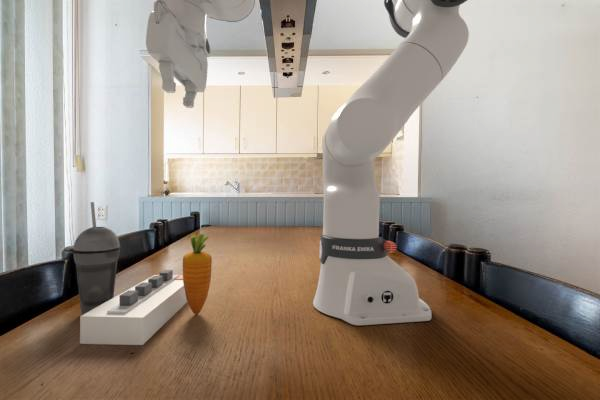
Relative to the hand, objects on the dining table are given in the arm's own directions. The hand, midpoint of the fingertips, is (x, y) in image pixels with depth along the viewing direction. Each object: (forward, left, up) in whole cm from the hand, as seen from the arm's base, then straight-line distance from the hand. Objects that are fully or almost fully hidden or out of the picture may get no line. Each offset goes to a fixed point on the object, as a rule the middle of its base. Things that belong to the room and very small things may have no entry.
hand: (179, 99), depth 58 cm
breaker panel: (+3, +5, -40) cm, 41 cm away
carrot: (-6, +5, -40) cm, 41 cm away
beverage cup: (+12, +5, -40) cm, 42 cm away
